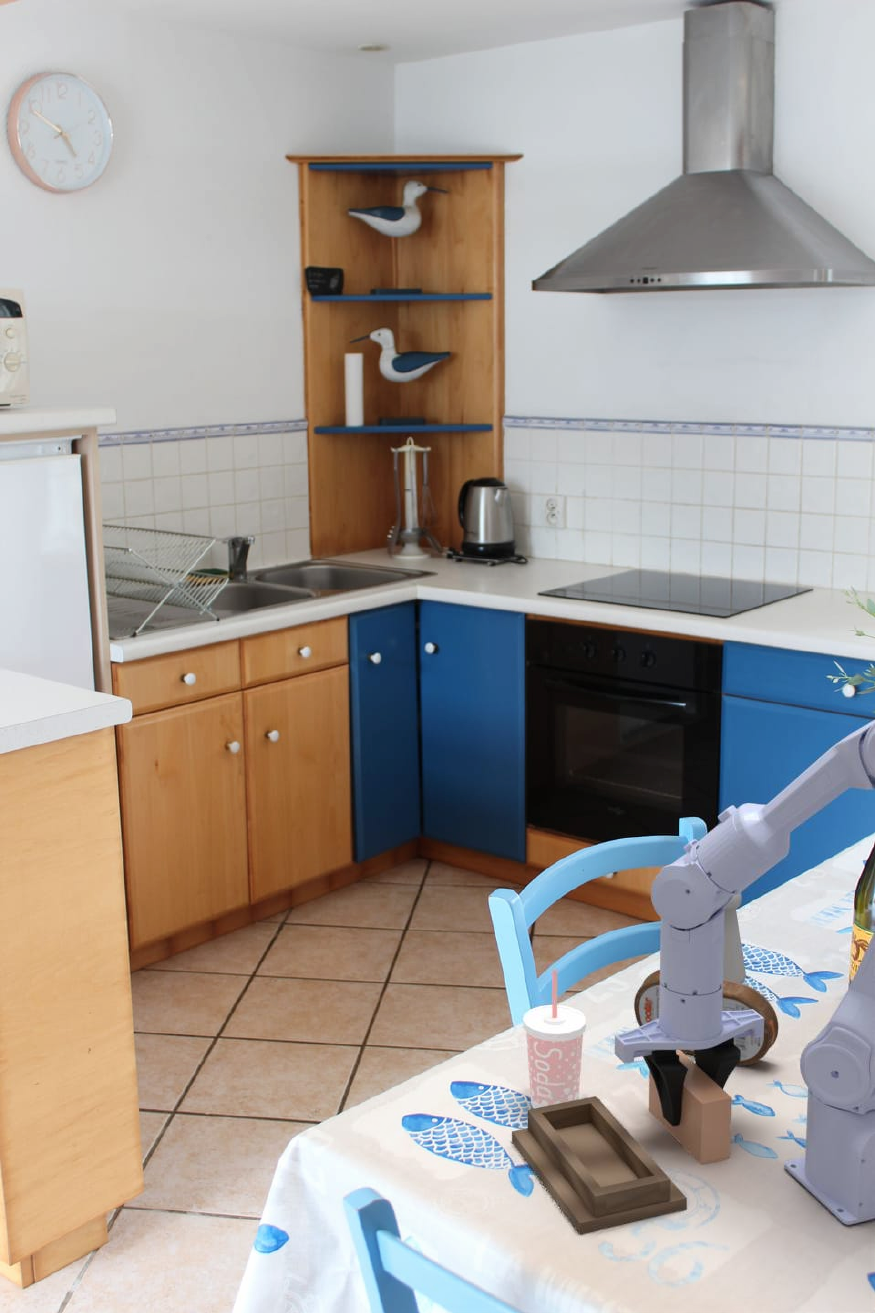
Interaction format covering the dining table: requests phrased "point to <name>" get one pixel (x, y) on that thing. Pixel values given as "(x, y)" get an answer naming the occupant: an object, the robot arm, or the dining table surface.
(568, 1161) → the tray
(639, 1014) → the tin
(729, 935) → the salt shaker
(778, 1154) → the dining table surface
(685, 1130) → the tan rectangular block
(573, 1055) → the beverage cup
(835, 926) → the dining table surface
